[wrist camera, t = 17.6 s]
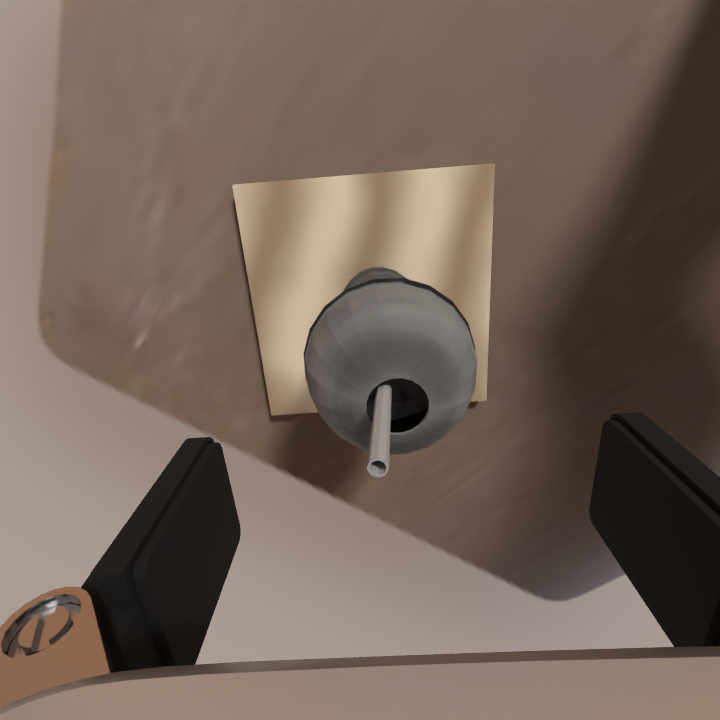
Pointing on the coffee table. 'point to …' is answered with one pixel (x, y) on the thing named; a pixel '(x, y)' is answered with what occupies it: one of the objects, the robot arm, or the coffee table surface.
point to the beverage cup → (390, 365)
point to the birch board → (361, 255)
